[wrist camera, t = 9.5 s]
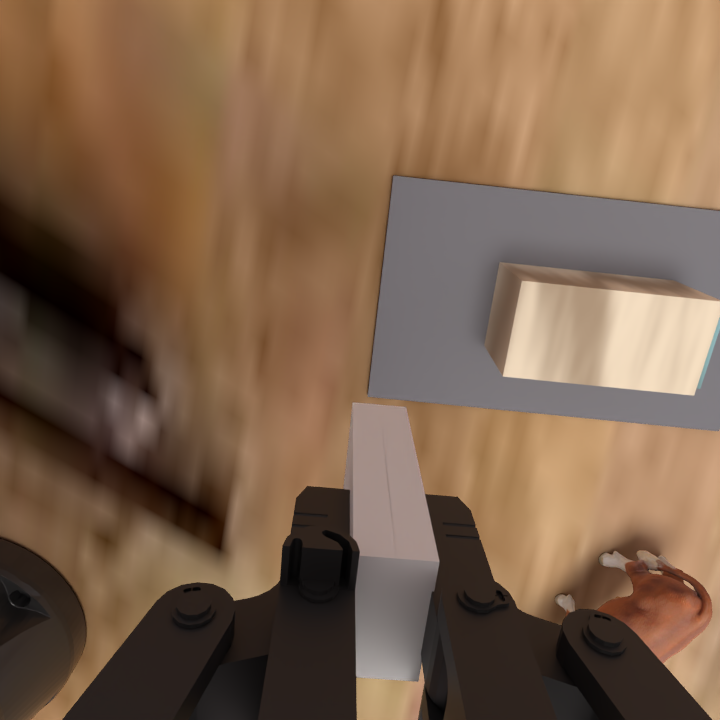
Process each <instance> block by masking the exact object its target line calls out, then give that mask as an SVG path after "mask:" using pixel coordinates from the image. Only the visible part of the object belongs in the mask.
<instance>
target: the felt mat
mask: <svg viewBox="0 0 720 720" xmlns="http://www.w3.org/2000/svg"><path fill="white" fill-rule="evenodd" d="M500 262H504V263H513V264H523V265H532V266H542V267H551V268H561V269H570V270H580V271H589V272H599V273H608V274H618V275H627V276H637V277H646V278H656V279H665V280H674V281H676V282H679V283H681V284H683V285H686V286H688V287H690V288H693V289H695V290H698V291H700V292H702V293H705V294H707V295H709V296H712V297H714V298H717V299H719V300H720V211H717V210H708V209H698V208H689V207H680V206H671V205H661V204H652V203H643V202H634V201H625V200H615V199H606V198H597V197H588V196H578V195H569V194H560V193H551V192H541V191H532V190H523V189H514V188H504V187H495V186H486V185H477V184H467V183H458V182H449V181H440V180H431V179H421V178H412V177H403V176H394V175H393V182H392V191H391V199H390V208H389V216H388V225H387V233H386V242H385V251H384V259H383V268H382V276H381V285H380V294H379V302H378V311H377V319H376V328H375V336H374V345H373V354H372V362H371V371H370V379H369V388H368V397H377V398H387V399H397V400H407V401H417V402H427V403H437V404H448V405H458V406H468V407H478V408H488V409H498V410H509V411H519V412H529V413H539V414H549V415H559V416H569V417H580V418H590V419H600V420H610V421H620V422H630V423H640V424H651V425H661V426H671V427H681V428H691V429H701V430H711V431H719V429H720V330H719V333H718V336H717V339H716V342H715V345H714V348H713V352H712V355H711V358H710V361H709V364H708V367H707V370H706V373H705V376H704V379H703V382H702V385H701V388H700V389H697V388H696V391H695V395H694V396H692V395H682V394H672V393H662V392H652V391H642V390H632V389H622V388H613V387H603V386H593V385H583V384H573V383H563V382H553V381H543V380H533V379H523V378H513V377H503V376H502V374H501V373H500V371H499V369H498V368H497V366H496V364H495V363H494V361H493V359H492V358H491V356H490V355H489V353H488V351H487V350H486V348H485V346H484V344H485V339H486V333H487V328H488V322H489V317H490V312H491V306H492V301H493V295H494V290H495V285H496V279H497V274H498V268H499V263H500Z"/></svg>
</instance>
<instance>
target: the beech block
mask: <svg viewBox="0 0 720 720" xmlns="http://www.w3.org/2000/svg"><path fill="white" fill-rule="evenodd" d="M719 330H720V300H719V299H717V298H714V297H712V296H709V295H707V294H705V293H702V292H700V291H698V290H695V289H693V288H690V287H688V286H686V285H683V284H681V283H679V282H676V281H674V280H665V279H656V278H646V277H637V276H627V275H618V274H608V273H599V272H589V271H580V270H570V269H561V268H551V267H542V266H532V265H523V264H513V263H504V262H500V263H499V268H498V274H497V279H496V285H495V290H494V295H493V301H492V306H491V312H490V317H489V322H488V328H487V333H486V339H485V344H484V346H485V348H486V350H487V351H488V353H489V355H490V356H491V358H492V359H493V361H494V363H495V364H496V366H497V368H498V369H499V371H500V373H501V374H502V376H503V377H513V378H523V379H533V380H543V381H553V382H563V383H573V384H583V385H593V386H603V387H613V388H622V389H632V390H642V391H652V392H662V393H672V394H682V395H692V396H694V395H695V391H696V388H697V389H700V388H701V385H702V382H703V379H704V376H705V373H706V370H707V367H708V364H709V361H710V358H711V355H712V352H713V348H714V345H715V342H716V339H717V336H718V333H719Z"/></svg>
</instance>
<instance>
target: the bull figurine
mask: <svg viewBox="0 0 720 720" xmlns="http://www.w3.org/2000/svg"><path fill="white" fill-rule="evenodd" d="M637 556H638V559H639V561H632V560H629V559H627V558H625V557H624V556H622V555H621V554H619V553H618V552H617V551H614V552H613V554H612V555H611V554H608V553H603V554H602V555H601V556H600V557H599V562H600V564H601V565H602V566H607V567H617V568H620V569H622V570H623V571H624V572H626V573H627V574H628V575H629V577H630V578H631V581H632V584H633V593H632V595H631V596H628V597H616V598H615V599H612V600H610V601H608V602H606V603H605V604H604V605H602V606H601V607H600V608H599V609H598V610H597V611H600V612H603V613H606V614H610V615H611V616H613V617H615V618H617V619H618V620H620V621H622V622H624V623H625V624H626V625H627V626H628V627H630V628H631V629H632V630H633V631H634V632H635V633H636V634H637V635H638V636H639V637H640V638H641V639H642V640H643V642H644V643H645V644H646V645H647V646H648V647H649V648H650V650H651V651H652V652H653V653H654V654H655V655H656V656H657V658H658V659H659V660H660V661H661V662H662V663H664V662H665V661H666V660H667V659H668V658H670V657H671V656H673V655H675V654H676V653H678V652H680V651H681V650H682V649H684V648H685V647H686V646H687V645H688V644H689V643H690V642H691V641H692V640H693V639H695V638H696V637H697V636H698V635H699V634H700V633H702V632H703V631H704V630H705V628H706V627H707V626H708V624H709V622H710V620H711V617H712V603H711V599H710V596H709V594H708V593H707V591H706V590H705V588H704V587H703V586H702V585H701V584H700V583H699V582H698V581H697V580H696V579H694V578H693V577H691V576H689V575H688V574H685V573H683V571H682V570H679V569H677V568H675V567H674V566H672V565H671V564H670V563H669V562H668V561H667V559H666V558H665V557H663V556H661V555H660V556H659V557H658V558H657V557H656V556H654V555H653V554H651V553H649V552H648V551H645V550H644V551H642V550H639V551H638V552H637ZM649 569H650V570H655V571H661V573H662V575H659V574H651V573H649ZM683 580H685V581H687V582H689V583H690V584H691V585H692V586H693V587H694V589H695V591H694V590H692V589H690V588H689V587H688V586H686V585H685V584H684V582H683ZM555 602H556V604H558V605H559V606H561V607H563V608H564V609H565V611H566V616H567V615H568V614H569V613H570V612H573V611H575V601H574V600H573V599H572V596H571V595H569V594H568V595H567V596H565V595H563V594H559V595H557V596H556V598H555Z"/></svg>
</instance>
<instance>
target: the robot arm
mask: <svg viewBox="0 0 720 720" xmlns="http://www.w3.org/2000/svg"><path fill="white" fill-rule="evenodd" d="M85 639H86V626H85V620H84V615H83V612H82V609H81V607H80V604H79V602H78V600H77V598H76V596H75V595H74V593H73V591H72V590H71V588H70V587H69V586H68V584H67V583H66V582H65V581H64V579H63V578H62V577H61V576H60V575H59V574H58V573H57V572H56V571H55V570H54V569H53V568H52V567H50V566H49V565H48V564H47V563H46V562H44V561H43V560H41V559H40V558H39V557H37V556H36V555H34V554H33V553H31V552H29V551H27V550H26V549H24V548H22V547H20V546H18V545H15V544H13V543H11V542H8V541H5V540H3V539H0V720H31V719H32V718H33V717H34V716H35V715H36V714H37V713H38V712H39V711H40V710H41V709H42V708H43V707H44V706H45V705H47V704H48V703H49V702H50V701H52V700H53V699H54V697H55V696H56V695H57V694H58V693H59V692H60V691H61V689H62V688H63V687H64V685H65V684H66V682H67V680H68V679H69V677H70V675H71V673H72V671H73V670H74V668H75V666H76V664H77V663H78V661H79V659H80V657H81V655H82V652H83V649H84V645H85ZM421 663H422V665H423V673H424V680H425V684H424V689H423V695H422V700H421V706H420V711H419V717H418V720H712V719H711V718H710V717H709V715H708V714H707V713H706V712H705V711H704V710H703V709H702V707H701V706H700V705H699V704H698V703H697V702H696V701H695V700H694V698H693V697H692V696H691V695H690V694H689V693H688V692H687V690H686V689H685V688H684V687H683V686H682V685H681V684H680V683H679V681H678V680H677V679H676V678H675V677H674V676H673V675H672V673H671V672H670V671H669V670H668V669H667V668H666V667H665V665H664V664H663V663H662V662H661V661H660V660H659V659H658V658H657V656H656V655H655V654H654V653H653V652H652V651H651V650H650V648H649V647H648V646H647V645H646V644H645V643H644V642H643V640H642V639H641V638H640V637H639V636H638V635H637V634H636V633H635V632H634V631H633V630H632V629H631V628H630V627H628V626H627V625H626V624H625V623H624V622H622V621H620V620H618V619H617V618H615V617H613V616H611V615H610V614H606V613H603V612H600V611H597V610H590V609H579V610H576V611H573V612H570V613H569V614H568V615H567V616H566V617H565V619H564V620H563V623H562V625H558V624H555V623H552V622H549V621H546V620H543V619H539V618H536V617H534V616H531V615H529V614H526V613H524V612H522V611H521V610H519V609H517V607H516V604H515V601H514V600H513V598H512V597H511V595H510V593H509V592H508V591H507V590H506V589H505V588H503V587H502V586H501V585H500V584H499V583H497V582H495V581H494V579H493V576H492V573H491V570H490V567H489V564H488V561H487V558H486V555H485V552H484V549H483V546H482V543H481V540H479V534H478V531H477V528H475V522H474V519H473V516H472V513H471V510H470V509H469V508H468V507H467V506H466V505H465V504H464V503H463V502H462V501H461V500H460V499H459V498H458V497H452V496H440V495H427V494H425V492H424V488H423V483H422V478H421V474H420V469H419V464H418V460H417V455H416V451H415V446H414V441H413V437H412V432H411V427H410V423H409V418H408V414H407V409H406V407H400V406H389V405H378V404H367V403H355V402H353V404H352V413H351V423H350V432H349V441H348V451H347V460H346V469H345V479H344V489H336V488H323V487H311V486H307V487H306V488H305V489H304V490H303V491H302V492H301V493H300V495H299V496H298V497H297V498H296V503H295V510H294V516H293V522H292V528H291V534H290V535H289V536H288V537H287V538H286V540H285V542H284V544H283V548H282V562H281V576H280V581H279V582H278V584H277V585H276V586H274V587H273V588H272V589H271V590H269V591H267V592H265V593H263V594H261V595H259V596H255V597H251V598H248V599H242V600H236V601H233V598H232V597H231V596H230V594H229V593H228V592H227V591H226V590H225V589H223V588H220V587H218V586H216V585H214V584H208V583H198V582H197V583H191V584H185V585H181V586H179V587H176V588H174V589H172V590H170V591H168V592H166V593H165V594H164V595H163V596H162V597H161V598H160V599H158V600H157V601H156V603H155V604H154V605H153V606H152V608H151V609H150V610H149V611H148V613H147V614H146V615H145V616H144V618H143V619H142V620H141V621H140V623H139V624H138V625H137V627H136V628H135V629H134V630H133V632H132V633H131V634H130V635H129V637H128V638H127V639H126V640H125V642H124V643H123V644H122V645H121V647H120V648H119V649H118V650H117V652H116V653H115V654H114V655H113V657H112V658H111V659H110V660H109V662H108V663H107V664H106V665H105V667H104V668H103V669H102V670H101V672H100V673H99V674H98V675H97V677H96V678H95V679H94V681H93V682H92V683H91V684H90V686H89V687H88V688H87V689H86V691H85V692H84V693H83V694H82V696H81V697H80V698H79V699H78V701H77V702H76V703H75V704H74V706H73V707H72V708H71V709H70V711H69V712H68V713H67V714H66V716H65V717H64V718H63V719H62V720H357V712H356V677H359V678H374V679H388V680H403V681H418V680H419V674H420V669H421Z"/></svg>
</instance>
